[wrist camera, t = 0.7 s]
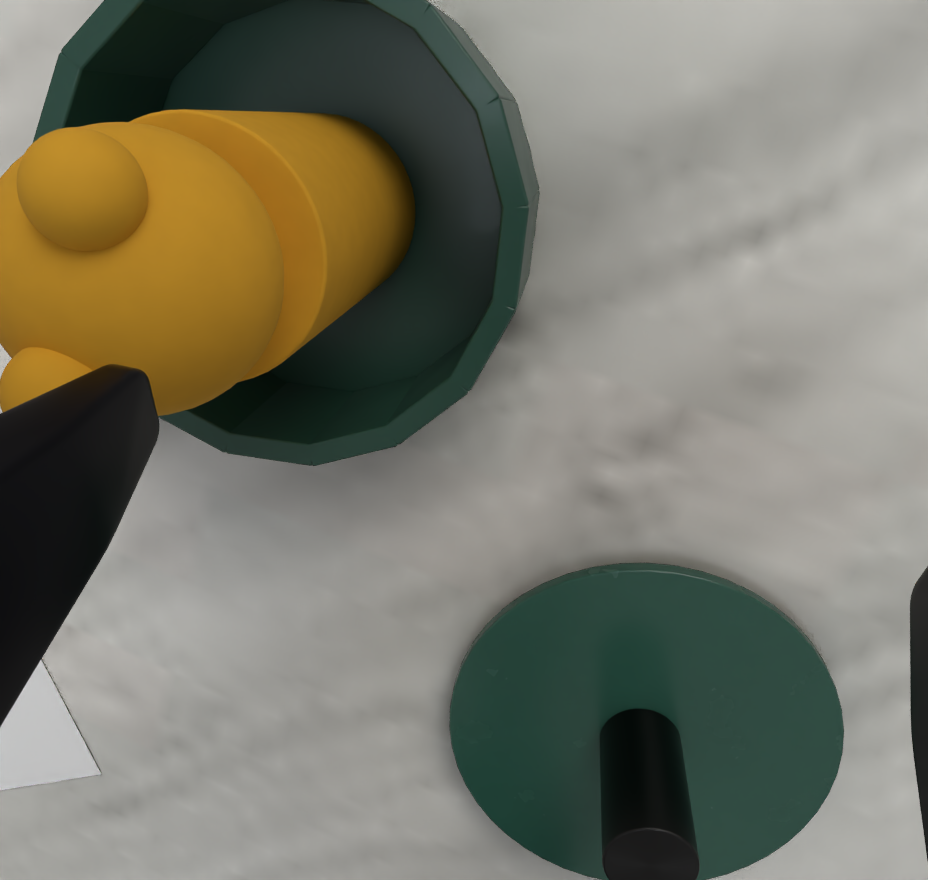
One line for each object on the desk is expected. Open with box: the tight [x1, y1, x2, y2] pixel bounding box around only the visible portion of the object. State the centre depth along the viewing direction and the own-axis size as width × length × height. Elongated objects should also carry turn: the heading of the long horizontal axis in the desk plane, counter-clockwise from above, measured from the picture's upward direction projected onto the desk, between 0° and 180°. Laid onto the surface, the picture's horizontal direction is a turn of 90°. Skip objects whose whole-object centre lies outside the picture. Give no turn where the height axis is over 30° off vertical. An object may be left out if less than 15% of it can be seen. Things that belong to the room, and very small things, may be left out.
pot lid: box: [449, 563, 844, 880], centre depth 26 cm, size 13×13×6 cm
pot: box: [33, 0, 539, 466], centre depth 22 cm, size 12×12×5 cm
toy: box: [0, 109, 415, 416], centre depth 17 cm, size 5×5×13 cm
